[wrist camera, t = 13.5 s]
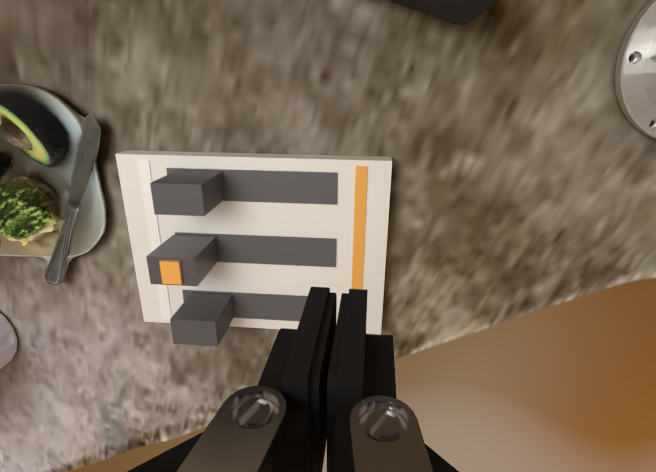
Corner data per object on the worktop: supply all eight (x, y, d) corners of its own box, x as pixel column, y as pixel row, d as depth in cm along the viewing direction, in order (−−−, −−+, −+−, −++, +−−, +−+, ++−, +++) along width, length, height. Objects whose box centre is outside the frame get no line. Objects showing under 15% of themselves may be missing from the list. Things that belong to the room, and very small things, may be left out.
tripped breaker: (215, 236, 37) (192, 260, 32) (217, 261, 38) (196, 288, 33) (173, 234, 38) (144, 257, 33) (176, 259, 39) (148, 285, 34)
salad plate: (139, 281, 43) (114, 303, 39) (-19, 273, 44) (-60, 294, 40) (105, 83, 36) (69, 84, 32) (-81, 82, 38) (-139, 82, 33)
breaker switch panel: (390, 156, 36) (396, 173, 29) (380, 323, 42) (382, 368, 35) (127, 150, 38) (77, 164, 31) (153, 311, 44) (116, 351, 37)
